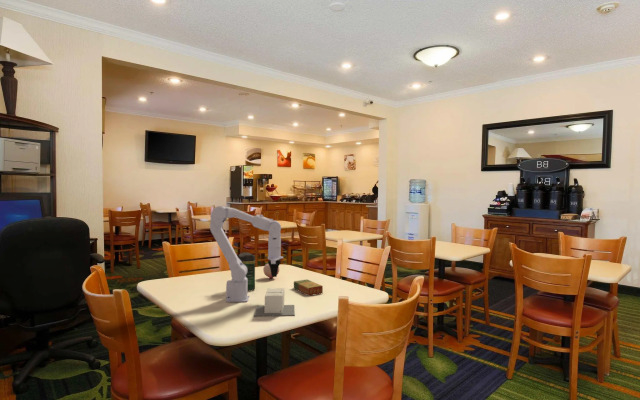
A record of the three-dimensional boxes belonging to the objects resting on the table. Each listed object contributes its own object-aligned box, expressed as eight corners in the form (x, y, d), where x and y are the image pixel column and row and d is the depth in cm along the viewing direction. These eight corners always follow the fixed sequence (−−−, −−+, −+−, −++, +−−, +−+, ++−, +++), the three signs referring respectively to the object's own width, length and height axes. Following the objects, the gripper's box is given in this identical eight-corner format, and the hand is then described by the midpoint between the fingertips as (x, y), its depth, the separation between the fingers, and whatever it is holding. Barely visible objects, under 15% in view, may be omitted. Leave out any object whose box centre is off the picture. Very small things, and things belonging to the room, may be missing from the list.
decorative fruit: (260, 279, 205) (260, 261, 205) (267, 276, 213) (267, 259, 213) (274, 281, 202) (274, 263, 202) (281, 277, 209) (281, 260, 209)
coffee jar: (257, 290, 181) (257, 253, 181) (241, 292, 177) (241, 254, 177) (251, 286, 190) (251, 251, 189) (236, 288, 186) (236, 252, 186)
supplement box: (284, 287, 157) (283, 295, 145) (284, 304, 157) (282, 314, 145) (267, 287, 157) (264, 295, 144) (267, 304, 157) (264, 314, 144)
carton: (308, 296, 173) (307, 287, 173) (293, 288, 187) (293, 280, 187) (322, 294, 177) (322, 285, 177) (307, 286, 191) (307, 278, 191)
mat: (254, 316, 143) (254, 315, 143) (257, 306, 156) (257, 305, 156) (294, 315, 144) (294, 314, 144) (294, 305, 157) (294, 304, 157)
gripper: (282, 249, 160) (282, 280, 160) (283, 245, 174) (283, 273, 174) (266, 249, 159) (266, 280, 159) (269, 245, 174) (268, 273, 174)
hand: (274, 276), depth 167 cm, fingers closed
